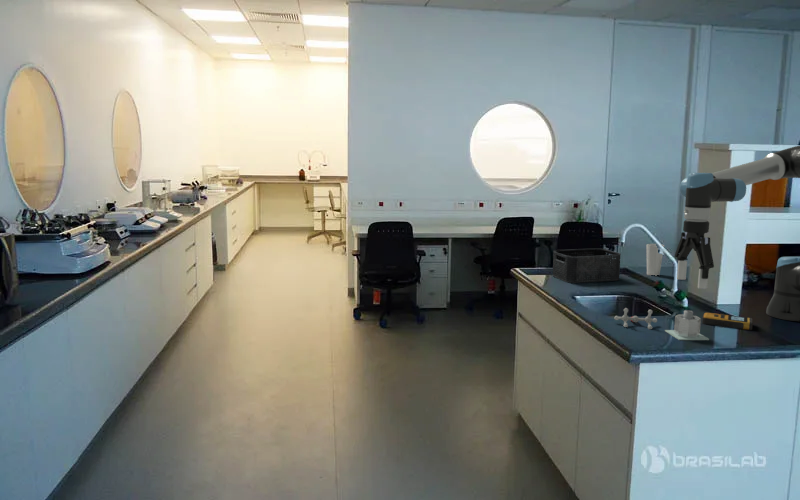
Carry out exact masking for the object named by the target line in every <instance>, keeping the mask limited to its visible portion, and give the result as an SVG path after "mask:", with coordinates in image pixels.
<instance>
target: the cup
mask: <svg viewBox="0 0 800 500" xmlns="http://www.w3.org/2000/svg"><path fill="white" fill-rule="evenodd" d="M656 244H657V243H647V244H646V275H647V276H651V275H655V276H654V277H658V276H657V275H659V276H660V273H661V269H662V262H663V257H664V256H663V255H664V254H663V255H662V254H659V253H658V248H657V246H656ZM661 245H662V246H663V247H664V248H665V244H661Z"/></svg>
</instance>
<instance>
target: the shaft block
mask: <svg viewBox="0 0 800 500" xmlns="http://www.w3.org/2000/svg"><path fill="white" fill-rule="evenodd" d="M683 314H684V316H683V318H686V319H693V316H694V311H693V310H688V309H687V310H683ZM664 332H666V333H667V334H668V335H670V336H672V337H673V338H675V339H677V340H678V341H710V338H708V337H707V336H705V335H703V334H701V333H700V335H699V336H698V337H697V338H687V337H682V336H678V335H676V334H675V333H674V329H664Z"/></svg>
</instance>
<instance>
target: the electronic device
mask: <svg viewBox="0 0 800 500" xmlns="http://www.w3.org/2000/svg"><path fill="white" fill-rule="evenodd" d="M701 324H704V325H709V326H718V327H724V328H726V327H727V328H732V329H739V330H740V329H741V330H749V331H752V330H753V325H754V322H753V318H752V317H744V316H738V315H731V314H730V315H729V314H722V313H720V314H719V313H713V312H704V313H703V314H702V318H701Z"/></svg>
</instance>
